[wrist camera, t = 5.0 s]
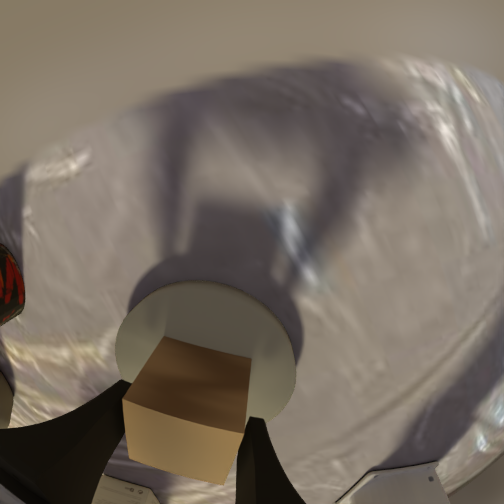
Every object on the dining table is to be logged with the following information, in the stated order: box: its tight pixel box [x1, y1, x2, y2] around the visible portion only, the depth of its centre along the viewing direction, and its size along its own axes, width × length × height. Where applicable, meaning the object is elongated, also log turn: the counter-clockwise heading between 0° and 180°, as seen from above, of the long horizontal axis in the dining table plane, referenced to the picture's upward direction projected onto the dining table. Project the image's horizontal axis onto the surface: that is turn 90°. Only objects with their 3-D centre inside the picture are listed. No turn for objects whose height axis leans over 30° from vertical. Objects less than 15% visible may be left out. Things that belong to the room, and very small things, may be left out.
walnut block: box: [122, 336, 252, 485], centre depth 11 cm, size 4×4×5 cm
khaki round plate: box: [115, 280, 296, 427], centre depth 15 cm, size 10×10×2 cm
